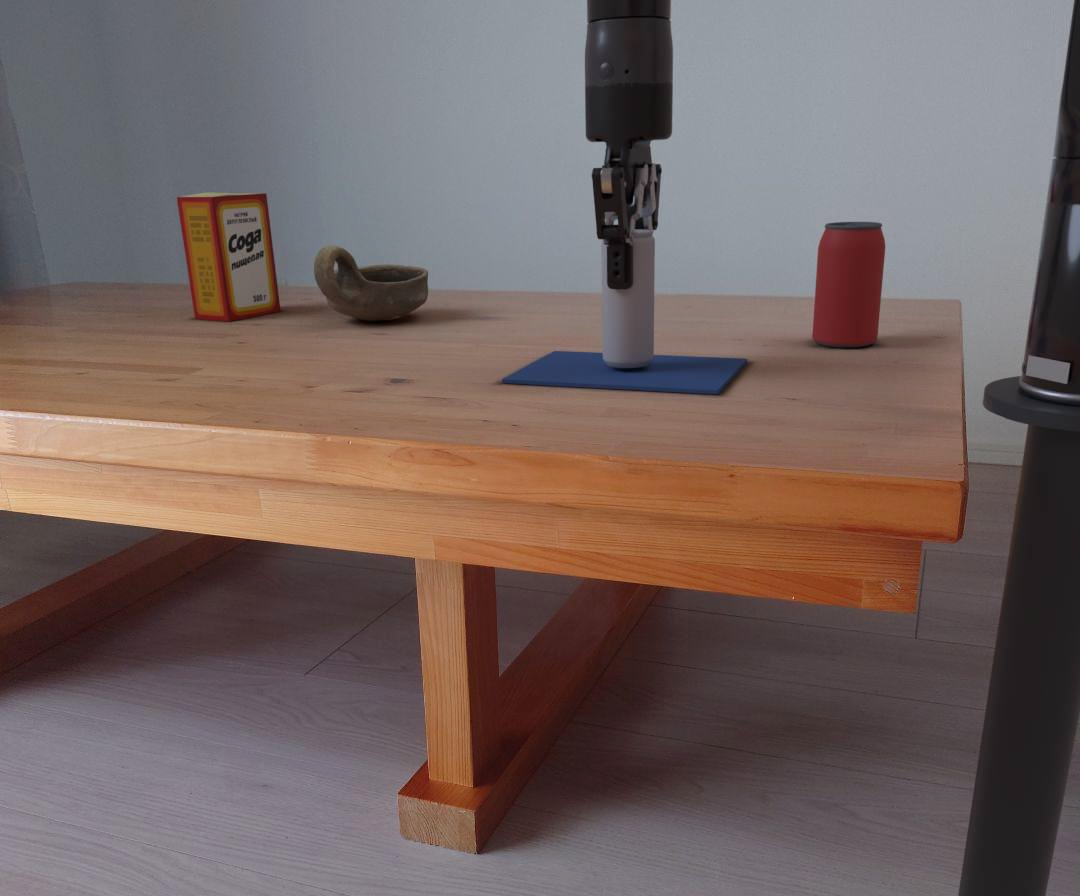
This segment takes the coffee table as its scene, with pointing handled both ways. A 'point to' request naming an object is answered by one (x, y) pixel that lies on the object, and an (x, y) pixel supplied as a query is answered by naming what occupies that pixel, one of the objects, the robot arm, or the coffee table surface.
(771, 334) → the coffee table surface
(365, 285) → the bowl
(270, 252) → the baking soda box
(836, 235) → the beer can
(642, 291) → the beverage can
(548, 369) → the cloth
